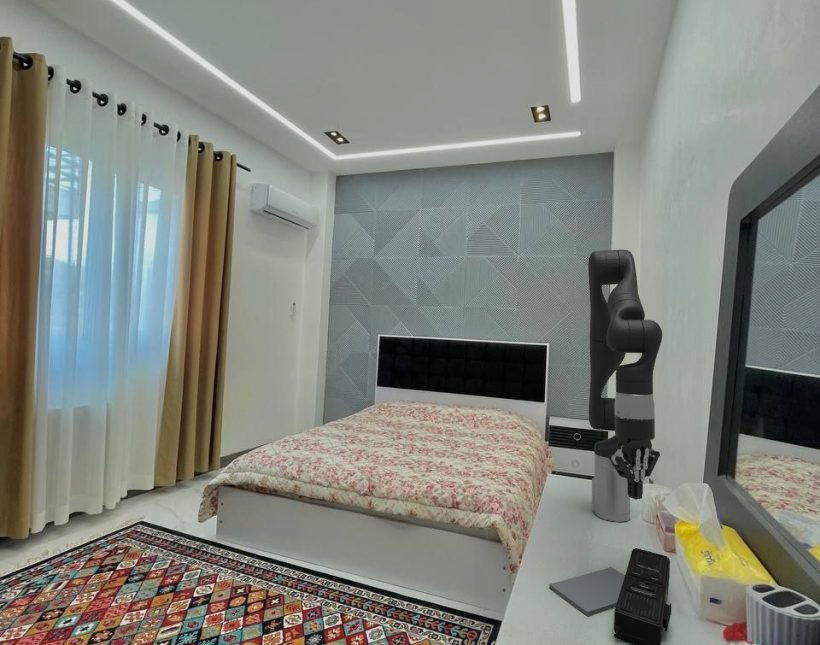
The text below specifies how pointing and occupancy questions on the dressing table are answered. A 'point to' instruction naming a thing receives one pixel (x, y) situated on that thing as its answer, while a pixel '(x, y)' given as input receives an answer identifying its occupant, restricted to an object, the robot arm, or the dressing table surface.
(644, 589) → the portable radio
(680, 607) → the dressing table surface
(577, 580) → the charcoal pad
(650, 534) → the dressing table surface
